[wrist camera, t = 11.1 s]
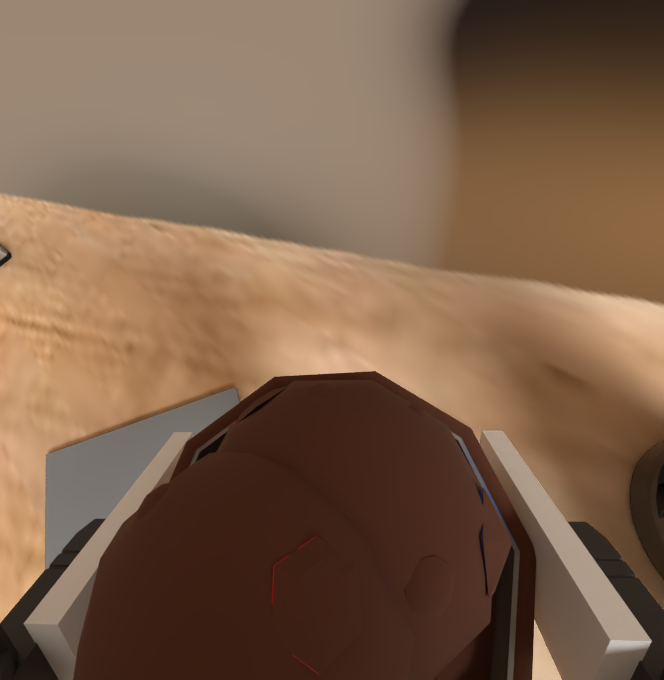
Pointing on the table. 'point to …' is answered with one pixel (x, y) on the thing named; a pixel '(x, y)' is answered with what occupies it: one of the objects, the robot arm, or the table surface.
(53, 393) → the table surface
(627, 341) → the table surface
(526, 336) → the table surface
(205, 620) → the ice cream bowl
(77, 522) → the grey mat
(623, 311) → the table surface
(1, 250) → the external hard drive
